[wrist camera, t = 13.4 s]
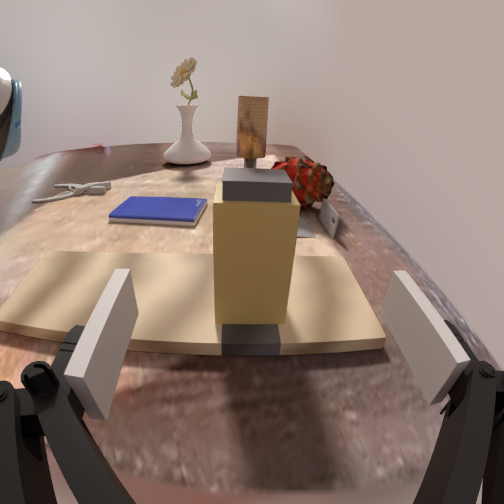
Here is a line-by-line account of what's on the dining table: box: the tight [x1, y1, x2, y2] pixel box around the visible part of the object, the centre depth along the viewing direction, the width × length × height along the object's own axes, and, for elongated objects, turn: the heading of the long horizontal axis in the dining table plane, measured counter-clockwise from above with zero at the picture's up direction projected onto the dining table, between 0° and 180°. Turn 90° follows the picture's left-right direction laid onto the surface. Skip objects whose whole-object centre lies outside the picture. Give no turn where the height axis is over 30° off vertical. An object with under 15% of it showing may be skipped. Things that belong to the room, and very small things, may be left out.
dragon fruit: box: [271, 156, 334, 209], centre depth 46 cm, size 8×8×12 cm
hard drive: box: [109, 196, 207, 226], centre depth 43 cm, size 2×8×12 cm
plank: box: [0, 251, 386, 356], centre depth 25 cm, size 32×12×1 cm, turn 93°
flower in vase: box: [163, 57, 211, 164], centre depth 64 cm, size 13×11×25 cm
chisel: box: [236, 96, 269, 168], centre depth 26 cm, size 2×2×15 cm
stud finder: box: [213, 168, 300, 324], centre depth 21 cm, size 5×4×10 cm
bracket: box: [297, 198, 339, 238], centre depth 40 cm, size 7×10×4 cm, turn 94°
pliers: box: [32, 181, 111, 203], centre depth 51 cm, size 10×2×15 cm
